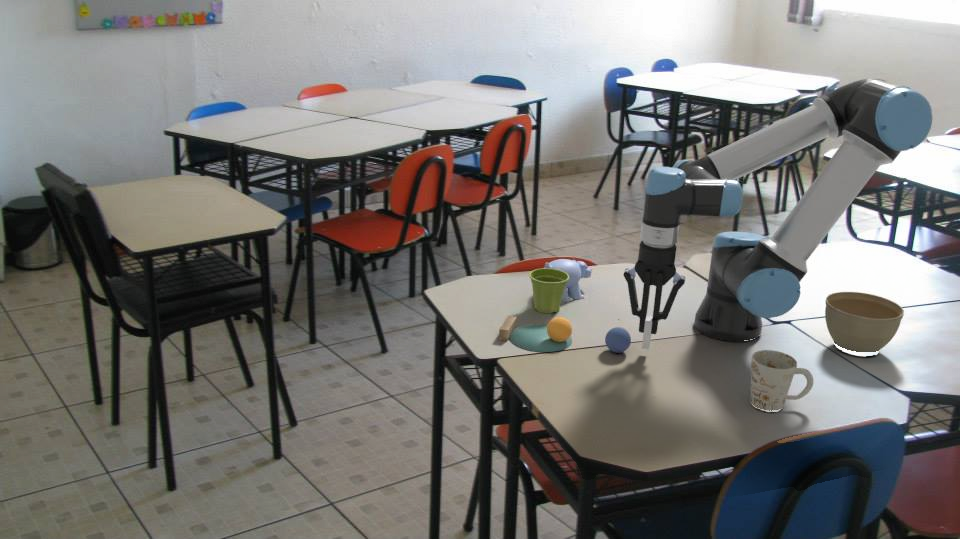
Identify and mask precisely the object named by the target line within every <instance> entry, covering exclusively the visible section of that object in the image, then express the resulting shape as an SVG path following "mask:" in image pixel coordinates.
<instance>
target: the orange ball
mask: <svg viewBox="0 0 960 539" xmlns="http://www.w3.org/2000/svg"><path fill="white" fill-rule="evenodd" d="M547 325H548V326H547V333H548V336H549V337H550V338H551V339H552V340H553V341H555V342H564V341H566V340H568V339H569V337H570V336H571V337H572V334H573V327H572V324H571V322H570V321H569V320H568V319H567V318H565V317H561V316H558V317H554V318H552V319H551V320H550V321H549V322H548V323H547Z"/></svg>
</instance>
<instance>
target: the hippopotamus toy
mask: <svg viewBox="0 0 960 539" xmlns="http://www.w3.org/2000/svg"><path fill="white" fill-rule="evenodd" d="M543 268H551V269H557V270H561V271H564V272H566V273H567V274H568V275H569V280H568V281H567V284H566V285H565V288H564V292H563V296H562V301H561V303H569V302H573V300H581V299H585V297H586V296H585V295H583V294H582V292H581V288H580V284H579V281H580V280H581V279H587V278H591V276H592V273H593V271H592V269H593V268H592V267H588V265H587V263H585V262H584V261H581V260H577V261H576V259H572V260H571V259H567V258H566V259H565V258H559V259H555V260H552V261H550V262H546V261H545V263H544V267H543Z"/></svg>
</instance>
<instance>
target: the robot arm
mask: <svg viewBox="0 0 960 539" xmlns="http://www.w3.org/2000/svg"><path fill="white" fill-rule="evenodd" d="M932 112H933V110H932V107H931V105H930V102H929V101H928V99H927V98H926V97H925V95H923V94H922V93H920V92H918V91H916V90H914V89H912V88H910V87H909V86H905V85H899V84H897V83H896V84H895V83H894V82H893V83H892V82H890V81H887V80H885V79H880V78H875V77H873V78H871V77H870V78H864V79H863V78H862V79H858V80H856V81H853V82H849V83H848V84H845V85H842V86H840V87H837V88H835V89H833V90H831V91H829V92H826V93H825V94H824V93H823V95H821V96H818V97H816V98H814V99H813V102H812V105H809V106H808V107H806V108H804V109H802V110H800V111H797V112H795V113H793V114H791V115H789V116H786V117H784V118H783V119H781V120H778V121H776V122H774V123H772V124H769V125H768V126H766V127H764V128H762V129H760V130H757V131H755V132H754V133H753V132H752V133H751V134H749V135H747V136H745V137H742V138H741V139H739V140H736V141H734V142H732V143H730V144H728V145H726V146H724V147H721V148H718V150H715V151H713V152H711V153H709V154H707V155H704V156H702V157H700V158H698V159H696V160H693V159H682V160H681V159H680V160H679V161H677V162H676V163H674V165H673V166H672V167H670V166H657V167H653V168H652V169H650V170H649V171H648V174H647V179H646V186H645V187H644V188H645V189H644V193H645V194H644V200H643V201H644V203H643V204H644V205H643V214H642V215H643V216H642V220H641V229H640V237H639V238H640V240H641V241H640V242H639V248H638V257H637V261H636V262H635V264H634V266H632V267H631V268H625V269H624V271H623V277H624V279H625V281H626V283H627V288H628V296H629V302H630V309H631V315H633V316H636V317H638V318H639V325H638V332H639V333H641V334H643V336H642V344H641V349H645V350H650V347H651V339H652V335H656V334H657V333H658V327H659V321H661V320H663V321H665V320H667V319H668V317H669V314H670V312H671V310H672V307H673V305H674V302H675V300H676V297H677V294H678V293H679V290H680V289H681V288H682V287H683V285H685V284H686V277H685V276H684V275H681V274H680V273H678V272H677V267H676V265H675V263H676V254H677V245H676V244H677V243H678V238H679V232H680V231H679V230H680V224H681V218H682V216H685V217H715V218H716V217H717V218H722V217H723V218H725V217H734V216H736V215H737V214H738V213H739V212H740V211H741V208H742V205H743V204H742V203H743V197H744V194H743V188H742V186H741V184H740V182H739V181H738V180H737V179H740V178H742V177H745V176H746V175H748V174H749V175H750V174H751V173H753V172H755V171H758V170H759V169H761V168H764V167H765V166H766V167H767V165H770V164H771V163H772V164H773V163H775V162H776V161H778V160H780V159H783V158H785V157H788V156H790V155H791V154H793V153H796V152H797V151H800V150H802V149H804V148H806V147H807V148H808V146H811V145H813V144H815V143H817V142H820V141H821V140H823V139H826V138H828V139H830V140H835V139H838V138H839V137H842V141H843V142H842V143H841V145H840V146H839V147H838V148H837V150H836V152H835V153H834V154H833V155H832V157H831V158H830V159H829V160H828V162H827V163H826V164H825V166H824V167H823V168H822V170H821V171H820V172H819V174H818V175H817V176H816V178H815V179H814V181H813V182H812V183H811V184H810V186H809V187H808V188H807V190H806V191H805V193H803V195H802V196H801V198H800V199H799V200H798V202H796V205H795V206H793V208H792V209H791V211H790V212H789V214H787V216H786V217H785V219H784V220H783V221H782V223H781V224H780V225H779V227H778V228H777V230H776V231H775V232H774V233H773V235H771V237H769V238H768V237H766V236H764V235H762V234H758V233H754V232H747V231H746V232H745V231H724V232H719V233H718V234H716V235H715V238H714V240H713V244H712V246H711V258H710V265H709V272H708V279H707V280H708V281H707V287H706V291H705V292H706V293H705V295H704V297H703V299H702V302H701V303H700V305H699V306H698V309H697V311H696V313H695V315H694V316H695V317H694V322H693V326H694V327H695V329H697V331H698V332H700V333H701V334H703V335H706V336H708V337H711V338H713V339H716V338H717V340H720V339H722V340H721V341H725V340H728V341H727V342H734V341H744V340H750V339H754V338H756V337H758V336H759V335H760V334H761V335H762V330H763V321H762V318H763V319H772V318H778V317H781V316H783V315H785V314H786V313H789V312H790V311H791V310H792V309H793V308H794V307H795V306H796V304H797V303H798V301H799V300H800V296H801V284H800V282H801V281H802V279H803V278H804V277H805V276H806V275H807V272H808V267H807V260H809V259H810V257H811V256H812V254H813V253H814V252H815V251H816V250H817V248H818V247H819V245H820V244H821V243H822V241H823V240H824V239H825V237H827V235H828V234H829V232H830V231H831V229H832V228H833V227H834V226H835V224H836V223H837V222H838V220H840V219H841V217H842V216H843V215H844V213H845V212H846V210H848V208H849V207H850V205H851V204H852V202H853V201H855V198H857V196H858V195H859V193H861V191H862V190H863V188H864V187H865V186H866V185H867V183H868V182H869V180H871V178H872V176H874V175H875V173H876V172H877V171H878V169H879V167H881V166H883V165H888V164H893V162H894V161H895V160H896V159H897V157H898V156H899V155H900V153H901V152H903V151H904V152H906V151H908V150H911V149H914V148H917V147H918V146H920V145H921V144H922V143H923V142H924V140H926V138H927V136H928V135H929V133H930V131H931V129H932V124H933V113H932ZM636 274H637V275H638V277H639V279H640V281H641V283H643V288H642V297H641V305H640V306H641V308H640V306H639V300H638V293H637V287H636V281H635V278H636ZM672 278H673V279H672ZM671 279H672V284H673V285H672V288H671V290H670V293H669V295H668V298H667V300H666V302H665V305H664V307H663V309H662V311H661V304H662V295H663V287H664V286H665V285H666V284H667V283H668V282H669V281H670V280H671ZM651 286H654V287H655V294H654V302H653V312H652V316H651V315H647V314H648V307H649V299H650V290H651ZM761 335H760V336H761ZM760 336H759V337H760ZM759 337H758V338H759ZM754 340H755V339H754ZM744 342H745V341H744Z"/></svg>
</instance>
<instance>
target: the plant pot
mask: <svg viewBox="0 0 960 539" xmlns="http://www.w3.org/2000/svg"><path fill="white" fill-rule="evenodd" d="M528 276H529V279H530V282H531V284H532V286H531V287H532V296H533V299H532V300H533V309H535V310H536V311H537V312H539V313H542V314H552V313H558V312H559V311H560V309H561V304H562V302H561V301H562V296H563V292H564V288H565V285H566V284H567V281H568V280H569V275H568V274H567V273H566V272H564V271H561V270H557V269H551V268H544V267H542V268H536V269H534V270H531V271H530V272H529V275H528Z"/></svg>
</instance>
